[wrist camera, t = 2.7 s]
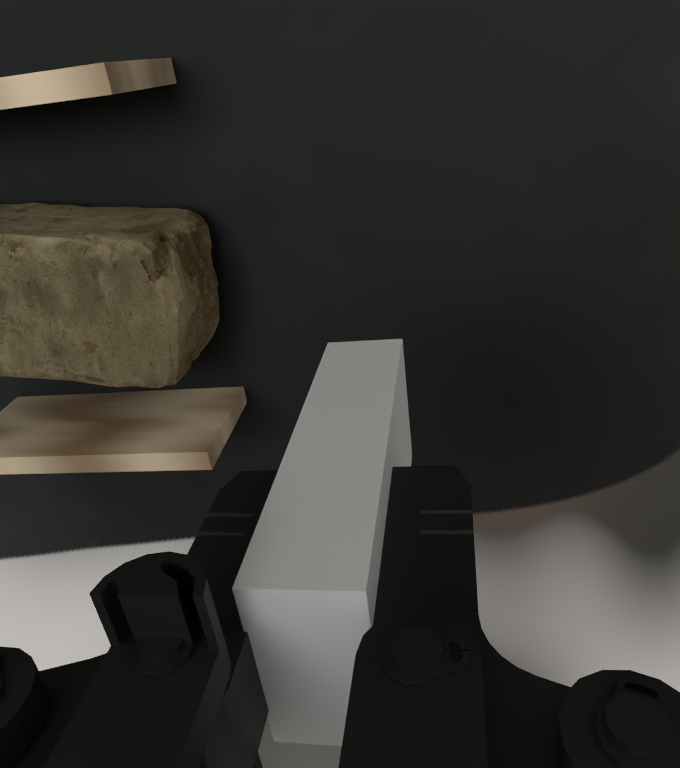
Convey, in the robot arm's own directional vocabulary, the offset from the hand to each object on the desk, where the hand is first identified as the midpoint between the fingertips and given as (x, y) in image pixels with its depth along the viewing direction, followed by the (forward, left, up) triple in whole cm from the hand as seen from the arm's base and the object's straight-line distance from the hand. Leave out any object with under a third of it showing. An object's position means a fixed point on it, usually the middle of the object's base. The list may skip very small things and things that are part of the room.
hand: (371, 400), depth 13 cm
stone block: (-13, 0, -12) cm, 18 cm away
